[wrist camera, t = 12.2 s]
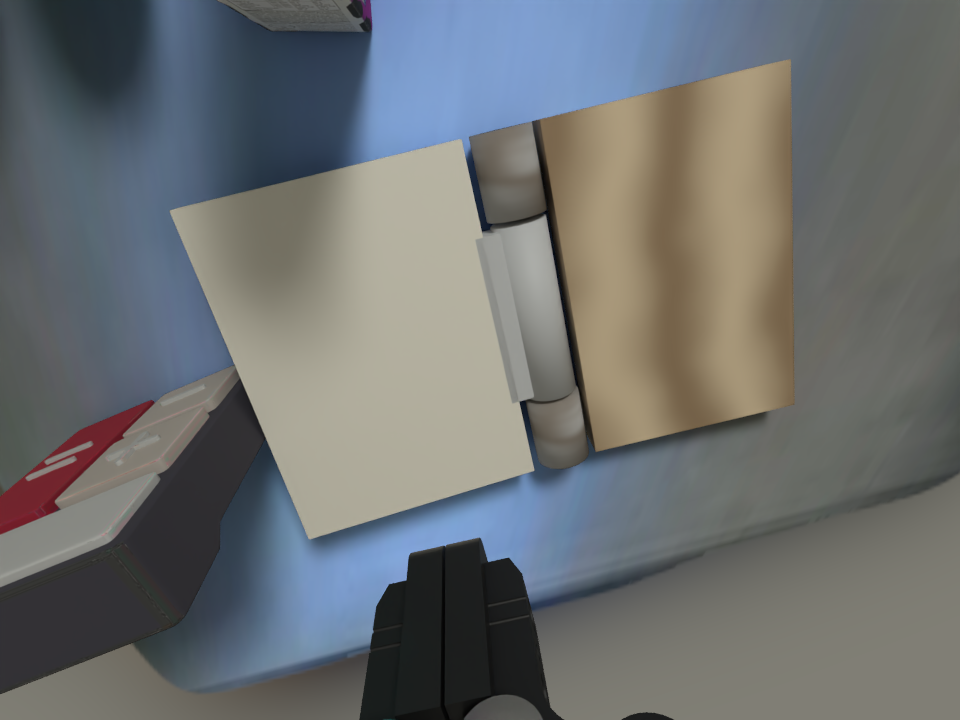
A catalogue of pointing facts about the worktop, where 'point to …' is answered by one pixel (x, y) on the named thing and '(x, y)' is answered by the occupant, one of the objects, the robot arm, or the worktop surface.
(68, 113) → the worktop surface
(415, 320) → the hinge leaf
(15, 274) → the worktop surface
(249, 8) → the candy bar box
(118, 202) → the worktop surface
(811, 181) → the worktop surface
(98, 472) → the calculator
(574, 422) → the fixed leaf
